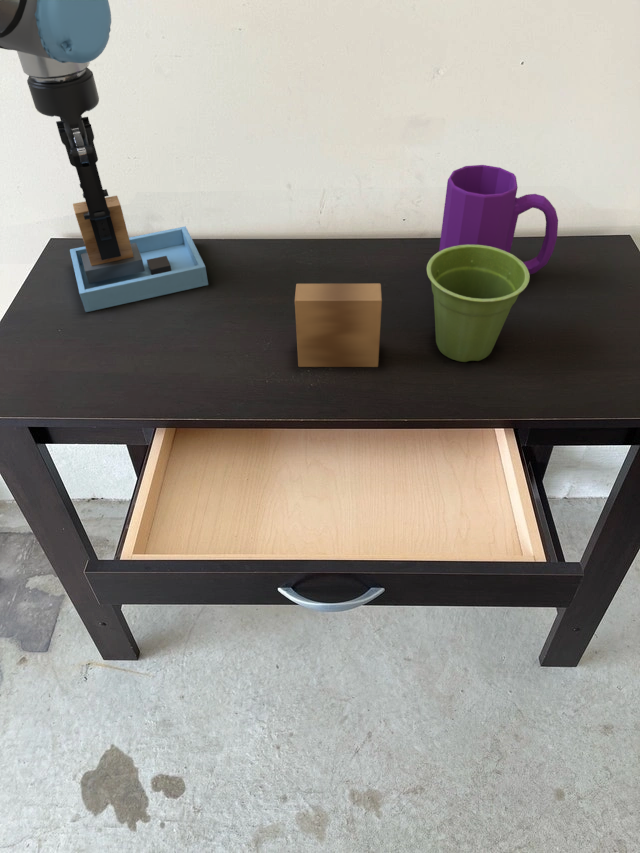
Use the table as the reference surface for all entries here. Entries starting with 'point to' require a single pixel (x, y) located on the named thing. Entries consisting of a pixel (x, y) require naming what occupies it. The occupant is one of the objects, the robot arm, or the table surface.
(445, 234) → the mug
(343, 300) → the square wooden block
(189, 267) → the pan
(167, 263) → the dark grey flat block
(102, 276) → the brush
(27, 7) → the robot arm
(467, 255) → the plant pot
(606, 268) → the table surface
